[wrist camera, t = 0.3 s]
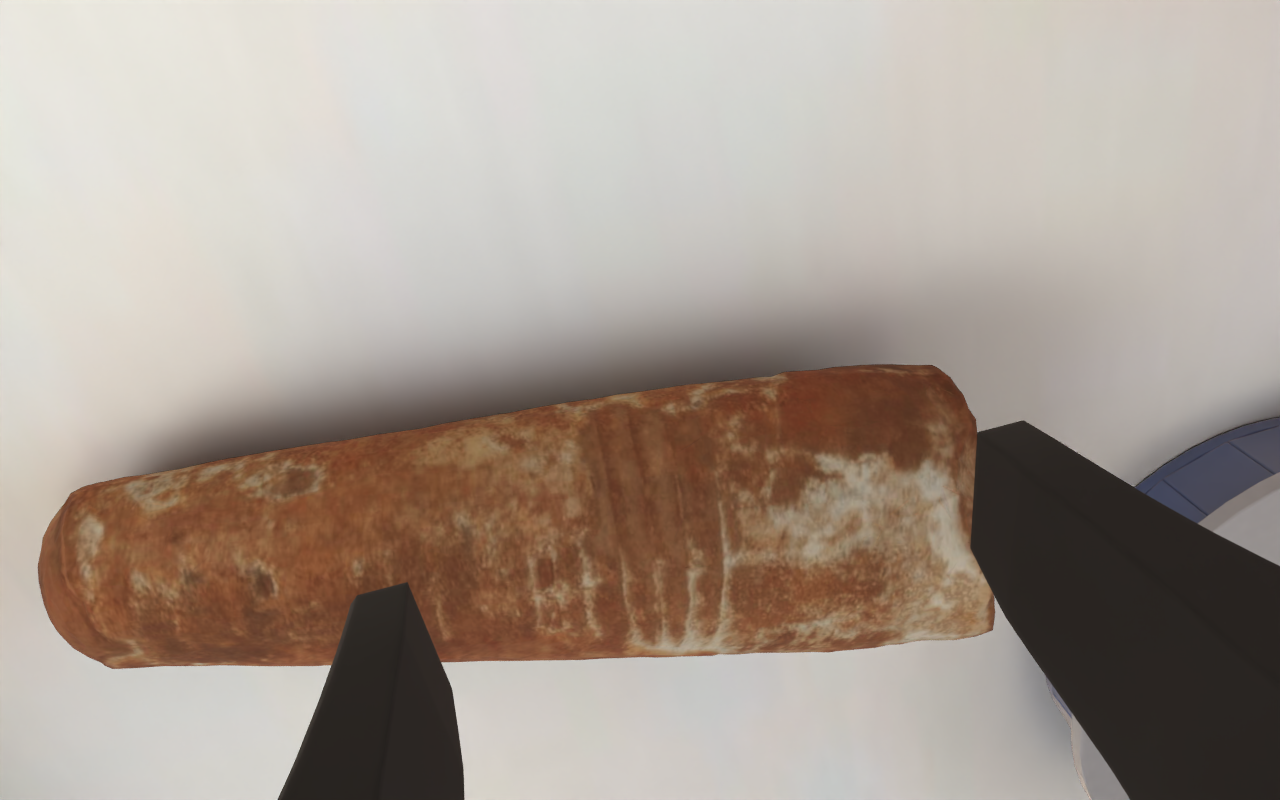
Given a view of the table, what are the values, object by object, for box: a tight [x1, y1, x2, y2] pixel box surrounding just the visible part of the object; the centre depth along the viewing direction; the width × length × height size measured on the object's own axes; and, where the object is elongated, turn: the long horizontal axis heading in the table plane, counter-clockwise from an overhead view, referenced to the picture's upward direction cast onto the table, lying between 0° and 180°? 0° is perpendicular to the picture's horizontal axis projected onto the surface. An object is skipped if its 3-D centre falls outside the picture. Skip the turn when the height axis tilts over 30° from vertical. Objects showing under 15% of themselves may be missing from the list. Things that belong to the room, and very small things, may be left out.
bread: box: [38, 364, 995, 669], centre depth 21 cm, size 6×19×6 cm, turn 89°
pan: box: [1045, 417, 1280, 729], centre depth 29 cm, size 12×12×3 cm
